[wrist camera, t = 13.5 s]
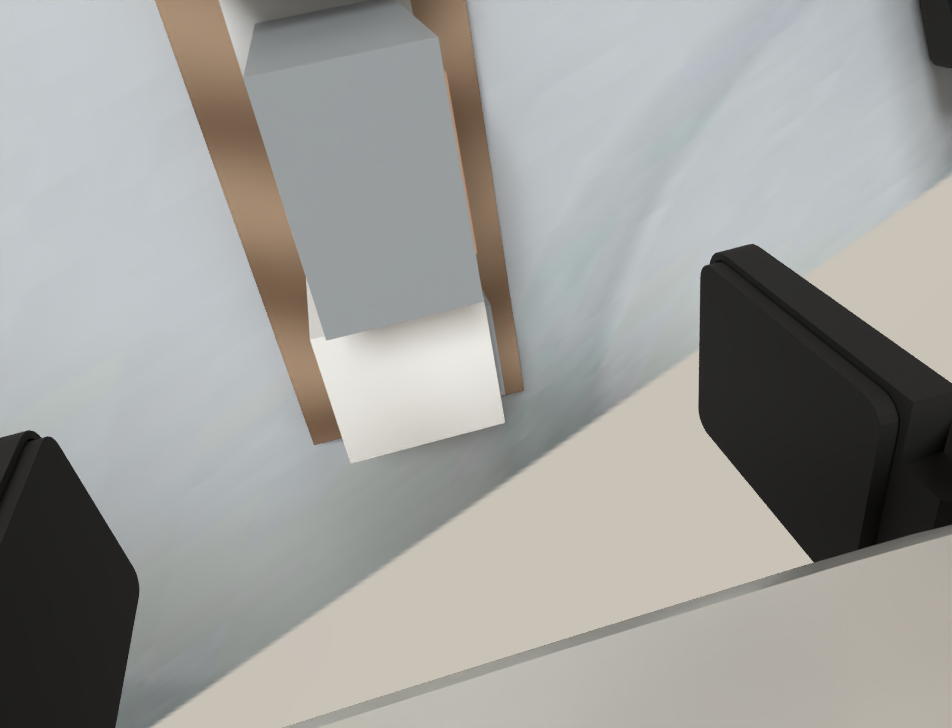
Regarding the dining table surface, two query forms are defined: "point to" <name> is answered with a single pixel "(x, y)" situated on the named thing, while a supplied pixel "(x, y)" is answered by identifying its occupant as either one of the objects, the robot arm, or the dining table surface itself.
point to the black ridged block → (938, 30)
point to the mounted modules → (411, 379)
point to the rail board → (255, 190)
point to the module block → (366, 162)
